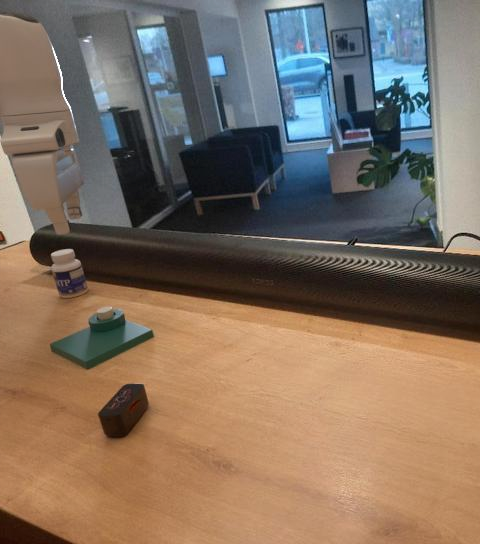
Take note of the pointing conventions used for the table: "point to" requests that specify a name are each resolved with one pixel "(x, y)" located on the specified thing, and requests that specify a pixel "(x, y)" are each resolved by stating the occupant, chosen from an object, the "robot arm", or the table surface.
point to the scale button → (105, 313)
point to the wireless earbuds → (123, 409)
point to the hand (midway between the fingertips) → (70, 225)
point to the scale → (101, 340)
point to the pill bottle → (68, 274)
